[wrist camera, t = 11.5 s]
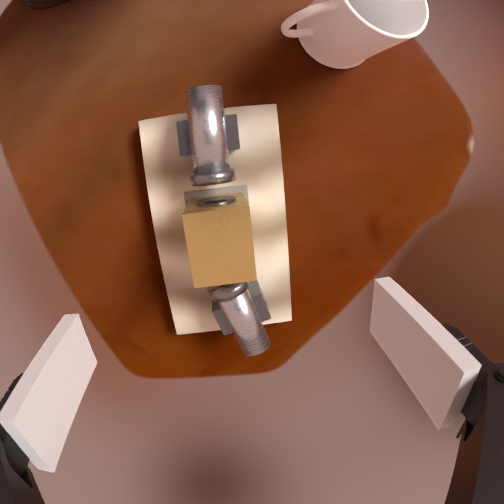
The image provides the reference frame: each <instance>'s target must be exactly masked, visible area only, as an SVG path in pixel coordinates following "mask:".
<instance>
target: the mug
mask: <svg viewBox="0 0 504 504" xmlns="http://www.w3.org/2000/svg"><path fill="white" fill-rule="evenodd" d="M428 16H429V11H428V5H427V1H426V0H313V1H312V3H311V4H310V5H309V6H307V7H306V8H304V9H302V10H300V11H298V12H296V13H294V14H293V15H291V16H290V17H288V18H287V19H286V20H285V21H284V22H283V23H282V25H281V31H282V33H283V35H285V36H287V37H292V38H297V37H298V38H299V41H300V43H301V45H302V46H303V48H304V49H305V51H306V52H307V53H308V54H309V55H310V56H311V57H312V58H313V59H315V60H316V61H318V62H319V63H321V64H323V65H326V66H328V67H332V68H337V69H348V68H352V67H355V66H357V65H359V64H361V63H362V62H363V61H364V60H365V59H367V58H369V57H371V56H373V55H375V54H377V53H379V52H381V51H383V50H386V49H388V48H390V47H392V46H394V45H397V44H399V43H401V42H403V41H406V40H408V39H410V38H413V37H415V36H417V35H418V34H420V33H421V32H422V31H423V30H424V28H425V27H426V25H427V22H428ZM296 23H297V30H290V29H289V28H290V27H291V26H293V25H294V24H296Z"/></svg>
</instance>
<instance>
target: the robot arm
mask: <svg viewBox="0 0 504 504" xmlns="http://www.w3.org/2000/svg"><path fill="white" fill-rule="evenodd" d="M19 1H21V2H22V3H24V4H26V5H28V6H30V7H33V8H47V7H52V6H55V5H59V4H61V3H64V2H66V1H68V0H19ZM373 293H374V294H373V303H372V304H373V305H372V313H371V323H370V333H371V334H372V335H373V337H374V338H375V339H376V341H377V342H378V343H379V345H380V346H381V348H382V349H383V351H384V352H385V353H386V355H387V356H388V357H389V359H390V360H391V362H392V363H393V364H394V366H395V367H396V369H397V370H398V372H399V373H400V374H401V376H402V377H403V379H404V380H405V382H406V383H407V385H408V386H409V387H410V389H411V390H412V392H413V393H414V395H415V396H416V398H417V399H418V401H419V402H420V404H421V405H422V407H423V408H424V409H425V411H426V412H427V414H428V416H429V417H430V418H431V420H432V422H433V423H434V425H435V426H436V427H437V429H438V431H440V430H442V429H445V428H447V427H449V426H451V425H453V424H455V423H456V422H457V420H458V418H459V416H460V413H461V412H462V414H463V415H464V416H465V418H466V419H465V421H464V423H463V425H462V427H461V429H460V431H459V432H458V434H457V436H456V438H459V437H460V435H461V439H460V445H459V450H458V454H457V459H456V463H455V467H454V472H453V476H452V479H451V484H450V487H449V490H448V494H447V497H446V501H445V504H504V363H497V364H493V363H492V362H491V361H490V360H489V359H488V358H487V357H486V356H485V355H484V354H483V353H482V352H481V351H480V350H479V349H478V348H477V347H476V346H475V345H474V344H472V342H471V341H470V340H469V339H468V338H466V336H465V335H463V334H462V333H461V332H460V331H459V330H458V329H457V328H455V327H452V326H450V325H449V324H444V325H441V324H440V323H439V322H438V321H437V320H436V319H435V318H434V317H433V316H432V315H431V314H429V312H427V311H426V310H425V309H424V308H423V307H422V306H421V305H420V304H419V303H418V302H417V301H416V300H415V299H413V298H412V297H411V296H410V295H409V294H408V293H407V292H406V291H405V290H404V289H402V288H401V287H400V286H399V285H398V284H397V283H396V282H395V281H394V280H392V279H391V278H390V277H385V278H379V279H375V280H374V292H373ZM96 364H97V361H96V358H95V356H94V353H93V351H92V349H91V346H90V344H89V341H88V339H87V336H86V333H85V331H84V328H83V325H82V323H81V320H80V317H79V314H66V315H64V316H63V318H62V319H61V320H60V322H59V323H58V324H57V326H56V327H55V329H54V330H53V331H52V333H51V334H50V336H49V337H48V339H47V340H46V341H45V343H44V344H43V346H42V347H41V348H40V350H39V352H38V353H37V354H36V356H35V357H34V359H33V360H32V362H31V363H30V365H29V366H28V368H27V369H26V371H25V373H22V374H20V375H19V376H18V377H17V378H16V379H15V380H14V381H13V382H12V384H11V386H10V387H9V391H7V392H6V394H5V395H4V398H2V400H1V402H0V504H45V502H44V500H43V498H42V496H41V494H40V491H39V489H38V487H37V484H36V482H35V479H34V477H33V474H32V472H31V470H30V469H29V468H28V466H27V465H28V462H29V460H30V461H31V462H32V463H33V464H34V465H35V466H36V467H37V468H38V469H40V470H44V471H49V472H53V473H54V472H55V469H56V465H57V463H58V460H59V457H60V454H61V451H62V449H63V446H64V443H65V440H66V438H67V435H68V432H69V430H70V427H71V424H72V422H73V419H74V416H75V414H76V412H77V409H78V407H79V404H80V402H81V399H82V397H83V395H84V392H85V390H86V387H87V385H88V382H89V380H90V378H91V376H92V373H93V371H94V369H95V367H96ZM461 433H462V434H461Z"/></svg>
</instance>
